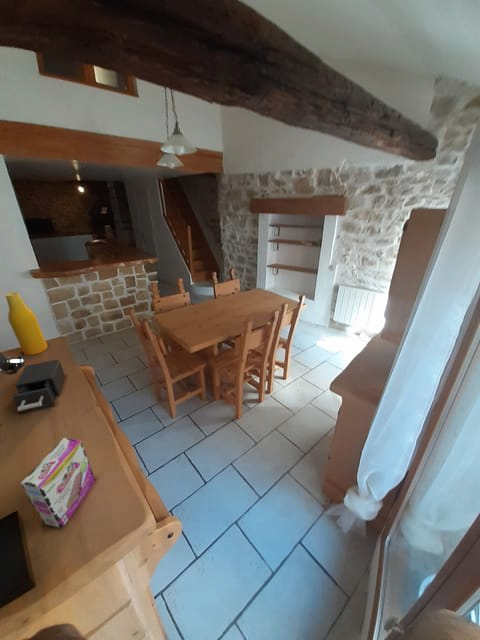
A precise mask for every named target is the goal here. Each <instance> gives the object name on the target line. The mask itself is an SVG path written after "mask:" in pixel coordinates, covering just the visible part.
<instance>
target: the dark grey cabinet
mask: <svg viewBox="0 0 480 640" xmlns="http://www.w3.org/2000/svg"><path fill="white" fill-rule="evenodd" d="M65 379H66V374H65V372H64V369H63V367H62V364H61V361H60V359H53V360H49V361H43V362H38V363H33V364H27V365H24V368H23V370H22V371H21V373H20V376H19V377H18V378H17V380H16V383H15V385H14V386H15V388H16V390H17V392H18V393H19V390H20V388H21V386H23V385H28V384H32V383H37V382H42V381H47V380H51V383H52V385H53V388H54V390H55V392H56V396H57V397H60V396H61V392H62V389H63V385H64V384H65V383H64V382H65Z"/></svg>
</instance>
